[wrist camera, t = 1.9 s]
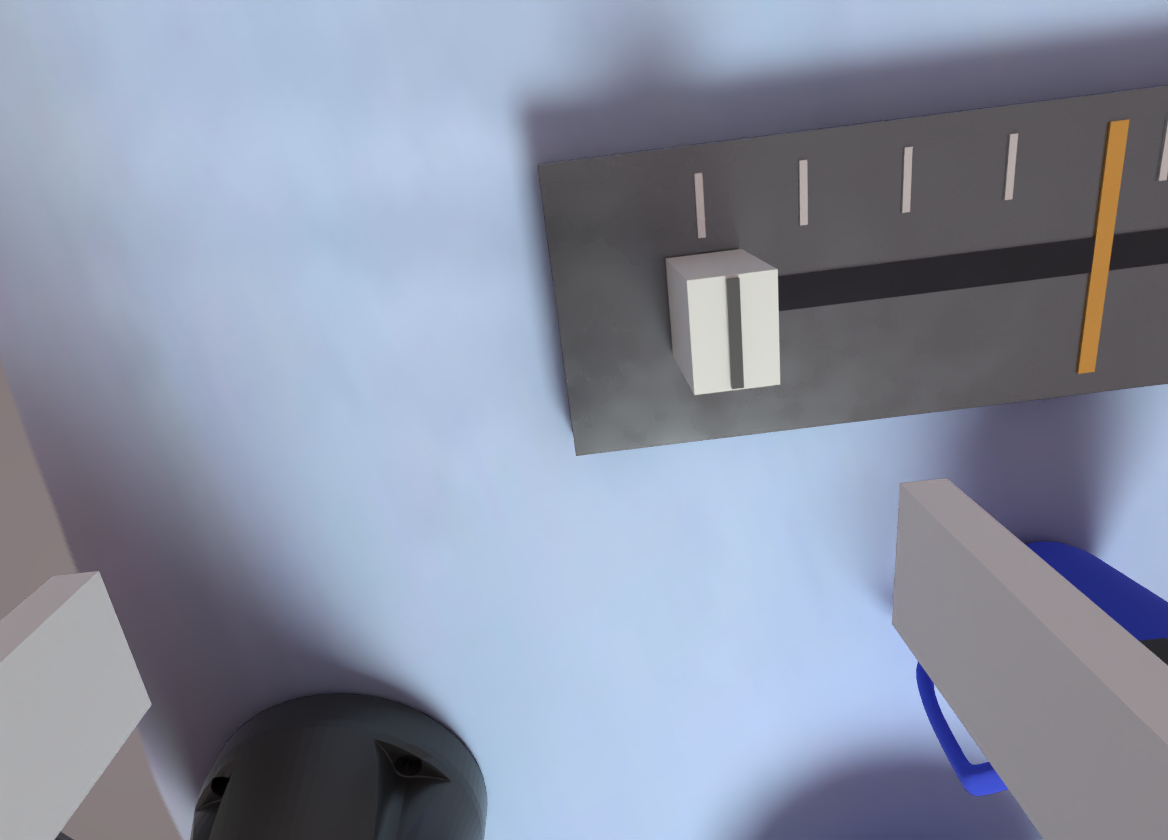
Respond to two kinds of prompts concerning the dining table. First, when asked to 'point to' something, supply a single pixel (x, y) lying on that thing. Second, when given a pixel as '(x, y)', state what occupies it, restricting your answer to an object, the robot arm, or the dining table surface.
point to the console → (874, 266)
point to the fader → (724, 320)
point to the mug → (1102, 587)
